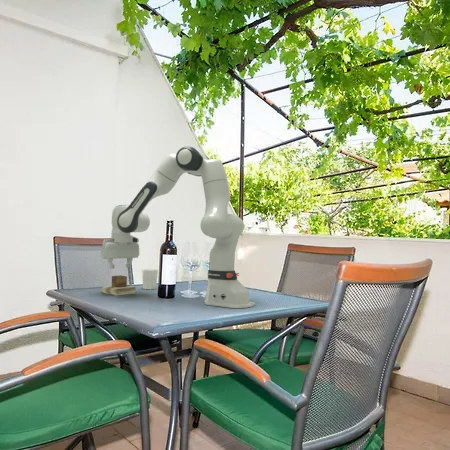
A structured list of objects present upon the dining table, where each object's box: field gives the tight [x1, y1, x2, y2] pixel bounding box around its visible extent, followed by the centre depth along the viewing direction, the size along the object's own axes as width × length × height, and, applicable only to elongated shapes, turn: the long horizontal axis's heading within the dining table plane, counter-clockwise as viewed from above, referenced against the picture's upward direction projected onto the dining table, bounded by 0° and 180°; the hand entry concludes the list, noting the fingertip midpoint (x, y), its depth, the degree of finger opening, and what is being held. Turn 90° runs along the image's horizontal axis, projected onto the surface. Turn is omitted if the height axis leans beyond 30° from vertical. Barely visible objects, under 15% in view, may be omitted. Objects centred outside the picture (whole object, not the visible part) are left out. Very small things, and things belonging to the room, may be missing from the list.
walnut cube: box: [110, 275, 128, 288], centre depth 202 cm, size 5×5×5 cm
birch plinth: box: [101, 285, 136, 296], centre depth 202 cm, size 11×11×3 cm
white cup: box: [142, 268, 159, 290], centre depth 220 cm, size 8×8×10 cm
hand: (120, 267), depth 202 cm, fingers open, 8 cm apart
